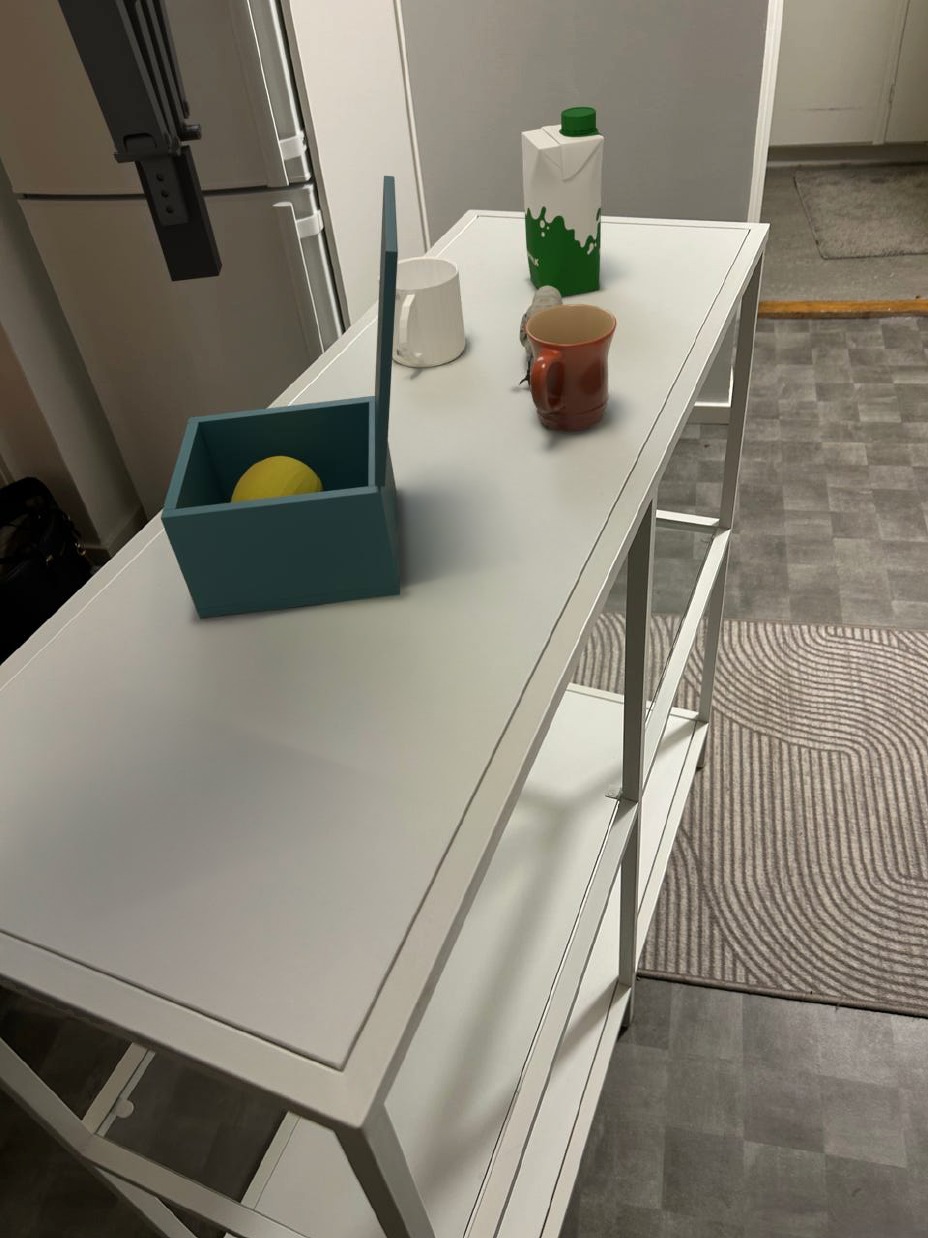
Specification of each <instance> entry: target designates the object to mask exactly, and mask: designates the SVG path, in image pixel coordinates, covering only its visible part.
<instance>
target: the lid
mask: <svg viewBox="0 0 928 1238" xmlns="http://www.w3.org/2000/svg"><path fill="white" fill-rule="evenodd" d="M395 180H396V179H395V176H393V175H383V187H382V188H383V189H382V206H381V207H382V210H381V211H382V212H381V233H380V234H381V235H380V257H379V258H380V259H379V273H380V279H379V281H378V307H377V326H376V328H377V330H376V351H375V352H376V353H375V355H376V356H375V375H374V376H375V377H374V396H375V486H379V487H385V483H386V465H387V446H388V444H389V426H390V410H391V409H390V407H391V388H392V370H393V369H392V368H393V357H392V354H393V336H394V317H395V299H396V281H397V262H398V261H399V260H398V259H399V243H398V225H397V223H398V222H397V221H398V220H397V204H396V203H397V202H396V181H395Z"/></svg>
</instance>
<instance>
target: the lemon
mask: <svg viewBox="0 0 928 1238" xmlns="http://www.w3.org/2000/svg"><path fill="white" fill-rule="evenodd" d="M317 492H324V490H323V486H322V483H321V481H320V479H319V478H318V476H317V475H316V474H315V473H314V471H313V470H312V469H310V468H309V467H308V466H307V465H305V464H304V463H302V462H300V461H298V460H296V459H293V458H290V457H285V456H275V457H270V458H267V459H264V460H262V461H260V462H258V463H256V464H254V465H253V466H252V467H251V468H250V469H249V470H248V471H247V472H246V473H245V474H244V475H243V476H242V477H241V478H240V480H239V482H238V483H237V485H236V488H235V490H234V493H233V495H232V499H231V503H232V502H240V501H249V500H257V499H266V498H274V497H283V496H291V495H300V494H308V493H317Z"/></svg>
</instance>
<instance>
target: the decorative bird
mask: <svg viewBox="0 0 928 1238" xmlns="http://www.w3.org/2000/svg"><path fill="white" fill-rule="evenodd" d="M559 305H564V303H563V299H562V297H561V295H560V293H559V291H558V290H557V289H556V288H554V287H551V286H543V287H541V288H539V289H538V288H537V290H536V291H535V293H534V294H533V297H532V301H531V305H530V306H529V307H527V310H526V311H525V313H524V314H523V315H522V318H521V321H520V325H519V341H520V344H521V346H522V347H523V348H524V349H525V355H526V361H527V369H526V375H525V377H524V378H522V379H521V381H520V382H519V384H518V386H520V385H522V383H524V382H527V385H528V388H529V389H531V387H530V375H531V370H532V365H531V364H532V360H533V361H534V356H533V352H532V348H531V345H530V342H529V340H528V337H527V335H526V332H525V324H526V322H527V321H528V319H529V318H530V317H531V316H533V315H534V314H536V313H537V312H539V311H541V310H544V309H547V308H550V307H554V306H559Z"/></svg>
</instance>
